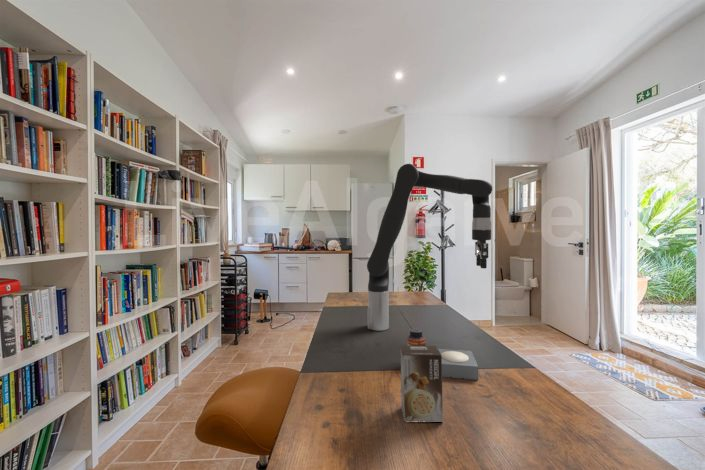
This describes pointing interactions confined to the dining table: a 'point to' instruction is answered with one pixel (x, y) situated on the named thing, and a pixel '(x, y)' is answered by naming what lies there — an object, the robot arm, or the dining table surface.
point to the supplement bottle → (416, 338)
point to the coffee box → (421, 383)
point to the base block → (458, 364)
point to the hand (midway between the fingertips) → (481, 267)
